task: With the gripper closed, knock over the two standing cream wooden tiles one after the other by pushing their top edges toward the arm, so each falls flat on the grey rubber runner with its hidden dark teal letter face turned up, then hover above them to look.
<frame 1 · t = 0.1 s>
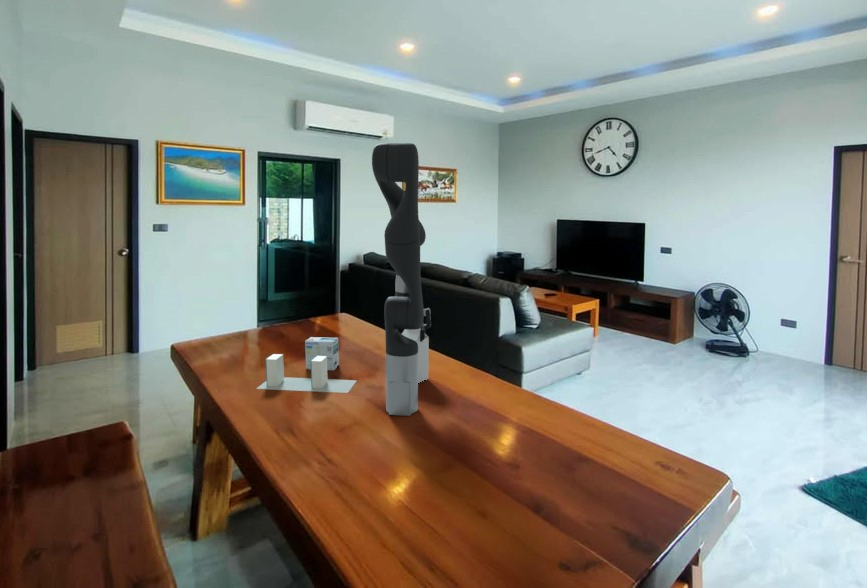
hand: (407, 340, 160), 17 cm above the table, tool pointing down, fingers open, 8 cm apart
runner: (307, 385, 170), on the table
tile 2: (319, 384, 169), resting on runner
light bulb box: (322, 368, 188), on the table
far tile: (275, 383, 171), resting on runner
milk carton: (413, 381, 175), on the table
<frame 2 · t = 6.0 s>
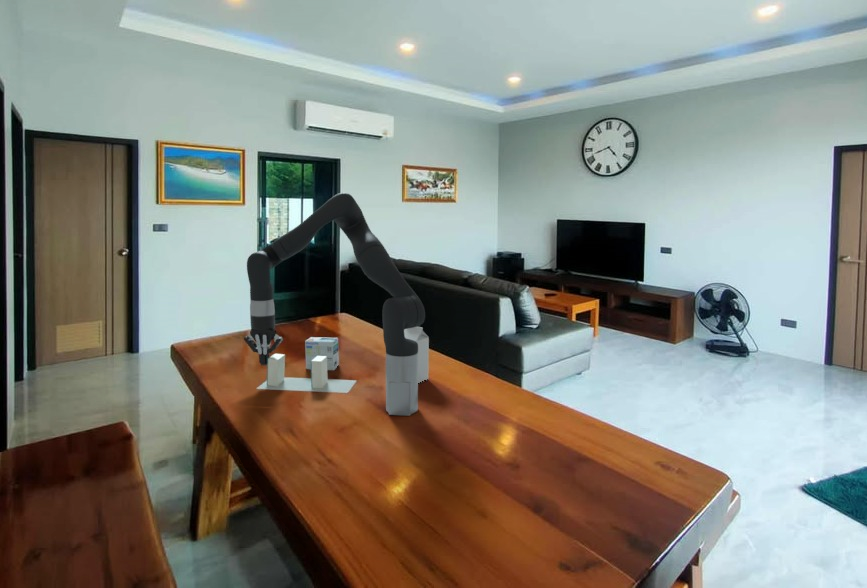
hand: (264, 364, 170), 6 cm above the table, tool pointing down, fingers closed
nothing on the table moved.
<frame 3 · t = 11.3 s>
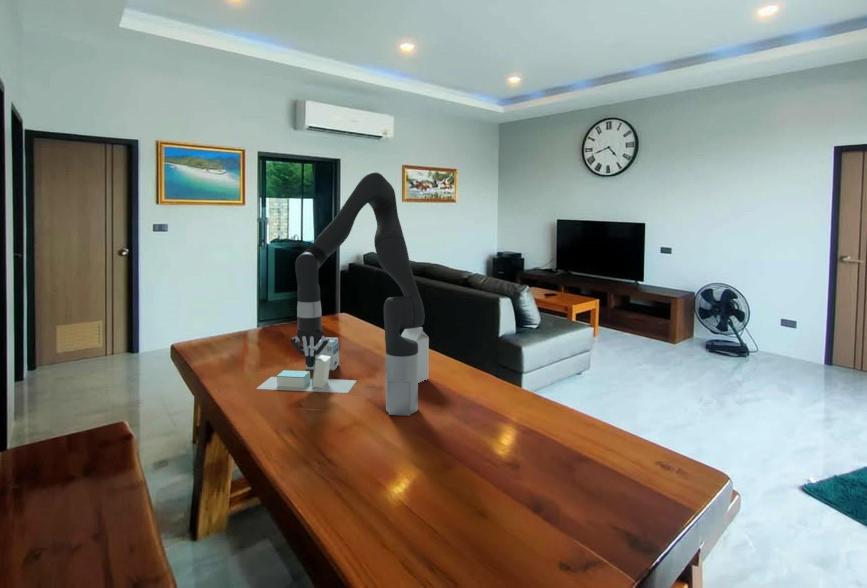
hand: (310, 366, 168), 6 cm above the table, tool pointing down, fingers closed
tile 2: (319, 384, 169), resting on runner, tilted 9°
far tile: (280, 378, 170), point 2 cm above the table, tilted 90°, touching runner
everything else where it was.
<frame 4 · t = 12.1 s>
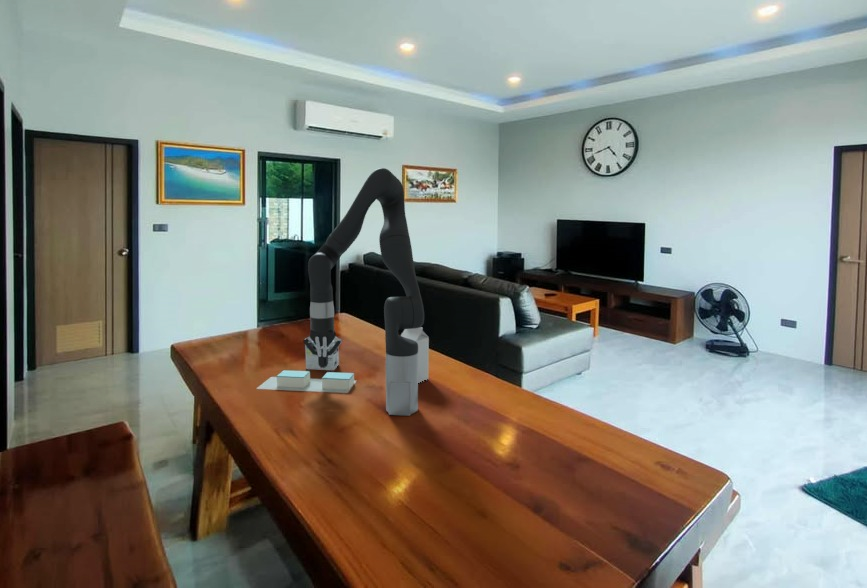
hand: (323, 367, 168), 6 cm above the table, tool pointing down, fingers closed
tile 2: (324, 380, 169), point 2 cm above the table, tilted 90°, touching runner
everything else where it was.
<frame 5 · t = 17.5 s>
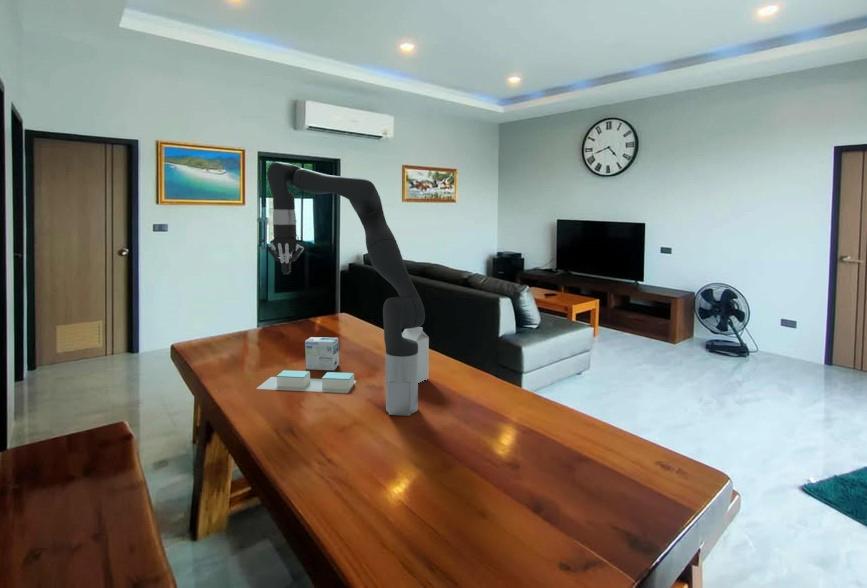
hand: (286, 273, 178), 35 cm above the table, tool pointing down, fingers closed
nothing on the table moved.
at the end: far tile tilted 90°; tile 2 tilted 90°; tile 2 inside the target area on the runner (0.2 cm from its centre), point 1.9 cm above the runner's base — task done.
